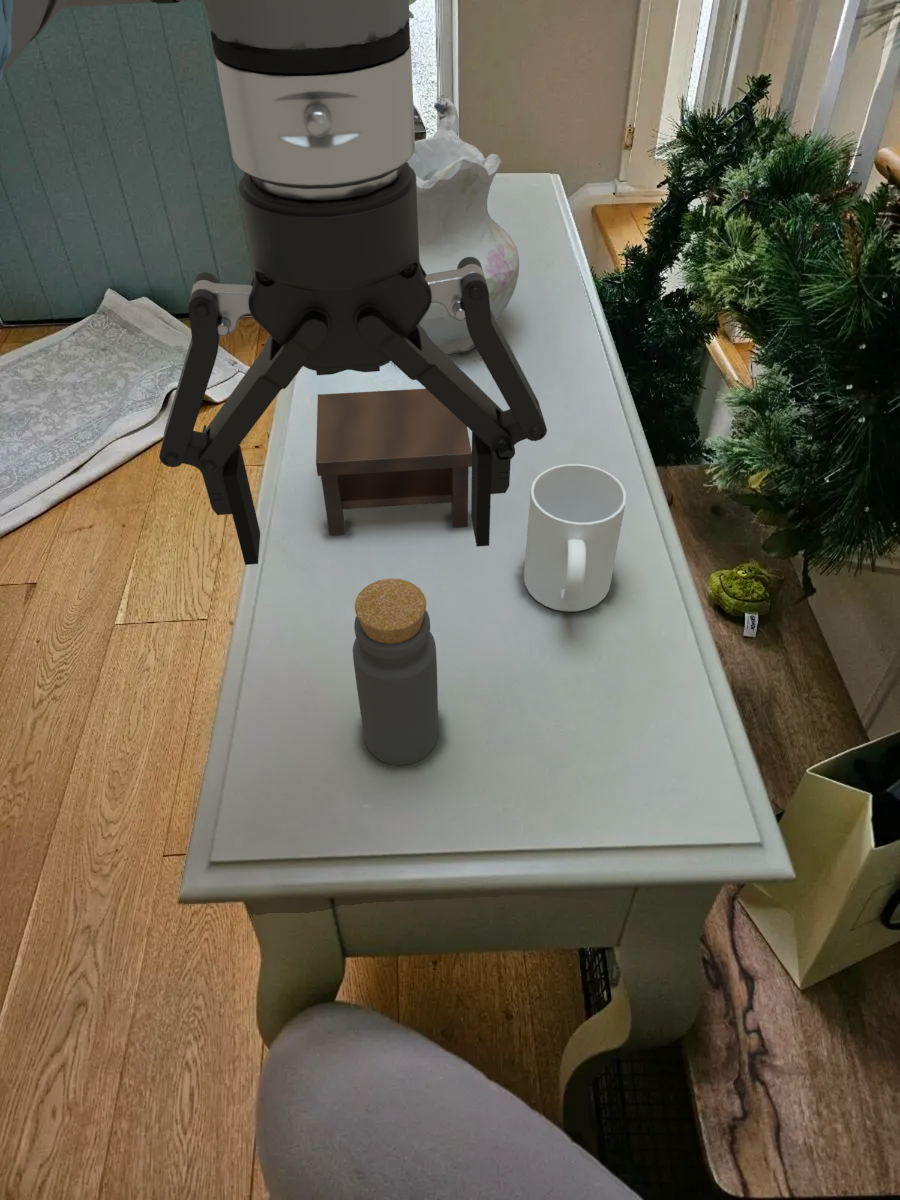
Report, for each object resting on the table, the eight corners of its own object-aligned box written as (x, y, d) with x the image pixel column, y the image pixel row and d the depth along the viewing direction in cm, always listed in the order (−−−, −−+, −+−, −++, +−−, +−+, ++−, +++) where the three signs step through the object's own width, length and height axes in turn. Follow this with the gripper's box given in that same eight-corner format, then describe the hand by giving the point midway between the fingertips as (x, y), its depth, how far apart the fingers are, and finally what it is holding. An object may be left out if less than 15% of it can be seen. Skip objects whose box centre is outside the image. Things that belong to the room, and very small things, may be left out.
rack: (326, 537, 83) (315, 462, 76) (327, 467, 90) (317, 394, 84) (470, 528, 84) (471, 453, 77) (459, 459, 91) (459, 386, 85)
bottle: (393, 779, 64) (380, 650, 53) (349, 729, 67) (328, 598, 57) (453, 738, 67) (453, 607, 56) (408, 692, 70) (399, 559, 59)
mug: (525, 549, 82) (532, 460, 74) (609, 555, 81) (625, 466, 73) (519, 646, 73) (526, 557, 66) (612, 653, 73) (630, 564, 65)
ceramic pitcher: (366, 300, 118) (333, 101, 100) (506, 282, 118) (499, 79, 100) (372, 388, 103) (334, 172, 85) (532, 367, 103) (529, 147, 85)
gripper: (-3, 219, 33) (147, 602, 48) (640, 185, 34) (585, 566, 50) (41, 148, 38) (164, 514, 53) (599, 121, 39) (560, 485, 55)
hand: (367, 540), depth 51 cm, fingers open, 13 cm apart
